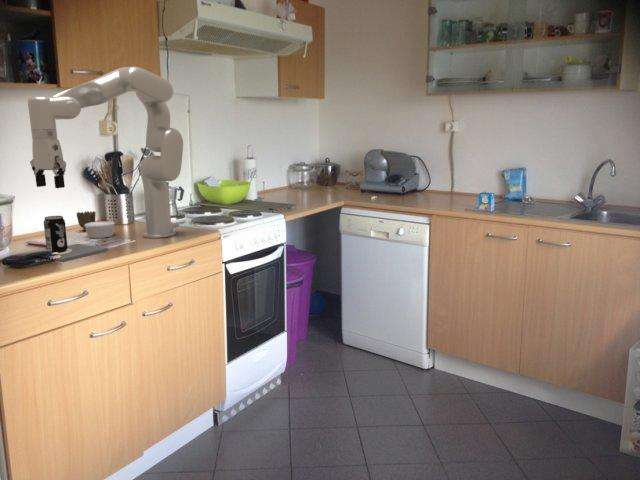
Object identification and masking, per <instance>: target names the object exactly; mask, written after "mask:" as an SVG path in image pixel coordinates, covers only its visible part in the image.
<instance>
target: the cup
mask: <svg viewBox="0 0 640 480" xmlns="http://www.w3.org/2000/svg"><path fill="white" fill-rule="evenodd" d="M96 215H97V214H96V211H88V210H87V211H86V210H85V211H84V212H83V211H81V212H80V211H78V212H76V218H77V222H78V226H79V227H81V228H82V231H83V232H86V228H85V226H84V225H85V224H87V223H91V222H96ZM86 233H87V232H86Z"/></svg>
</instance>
